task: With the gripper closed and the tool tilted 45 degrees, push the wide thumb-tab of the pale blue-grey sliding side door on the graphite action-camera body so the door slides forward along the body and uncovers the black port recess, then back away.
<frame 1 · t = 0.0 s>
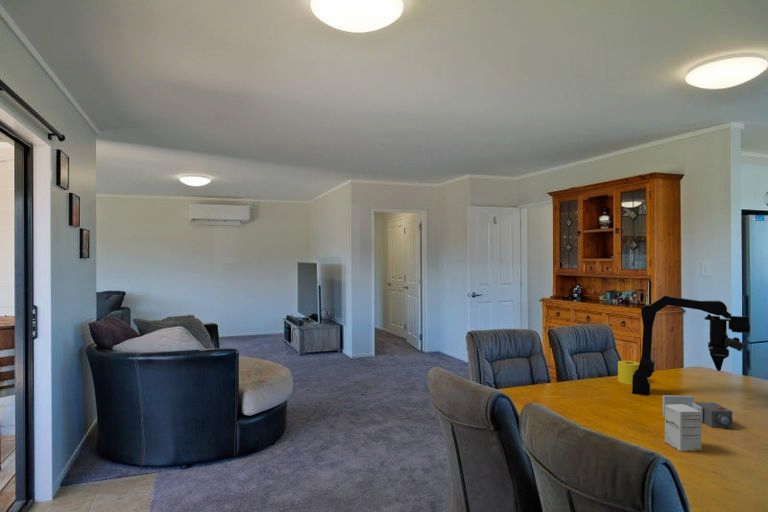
hand: (718, 368, 193), 15 cm above the table, tool pointing down, fingers open, 9 cm apart
side door: (682, 408, 174), point 4 cm above the table, slide at 0.0 cm
supplement box: (682, 447, 149), on the table
camera body: (678, 416, 177), on the table
yellow paper roll: (629, 382, 227), on the table
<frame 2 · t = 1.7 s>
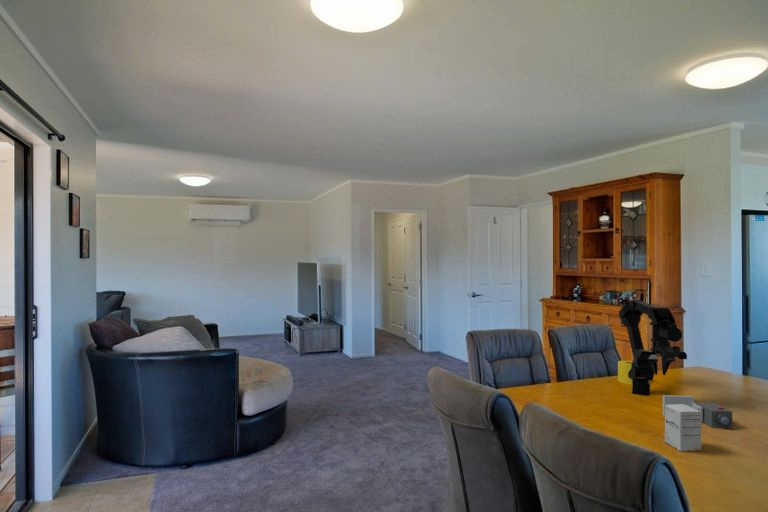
hand: (659, 374, 193), 12 cm above the table, tool pointing down, fingers open, 3 cm apart
nothing on the table moved.
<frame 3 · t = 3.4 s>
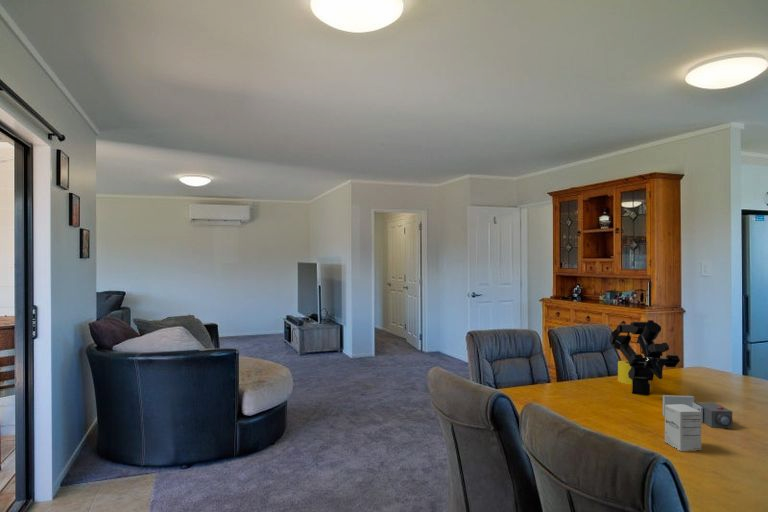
hand: (660, 378, 190), 11 cm above the table, tool tilted 45°, fingers closed
nothing on the table moved.
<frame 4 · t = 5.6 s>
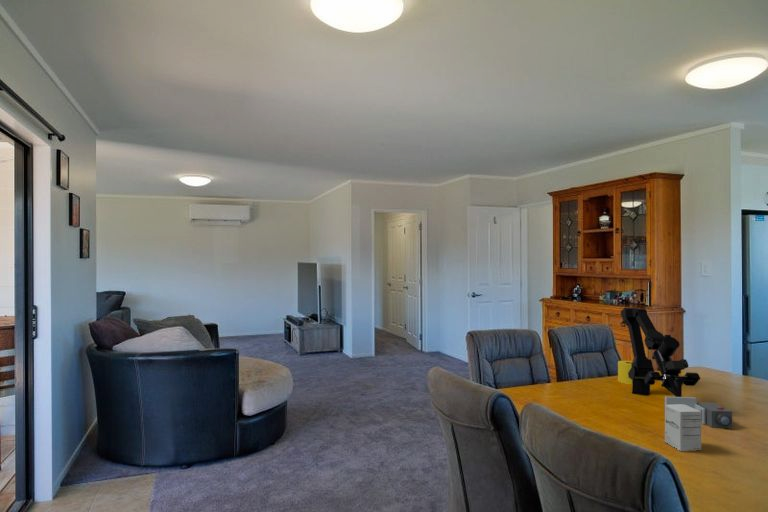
hand: (680, 398, 176), 7 cm above the table, tool tilted 45°, fingers closed, pressing on side door
side door: (684, 409, 173), point 4 cm above the table, slide at 1.5 cm, touching gripper
everything else where it was.
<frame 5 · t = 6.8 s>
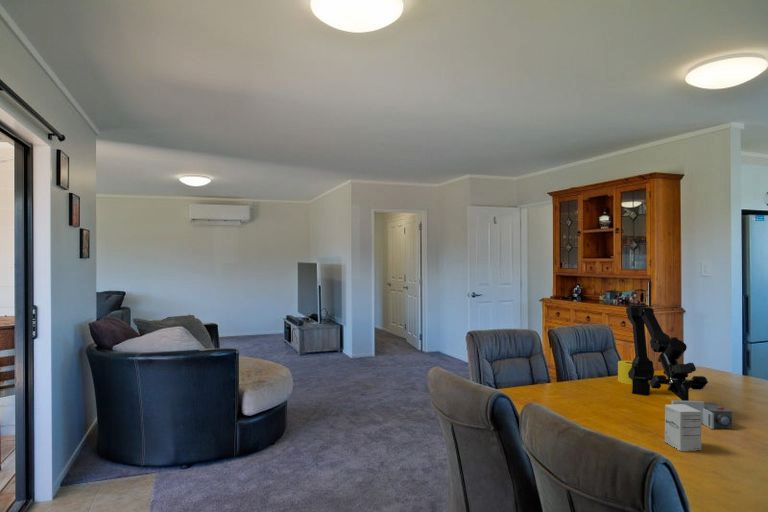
hand: (687, 402, 171), 7 cm above the table, tool tilted 45°, fingers closed, pressing on side door
side door: (692, 414, 168), point 4 cm above the table, slide at 6.3 cm, touching gripper
everything else where it was.
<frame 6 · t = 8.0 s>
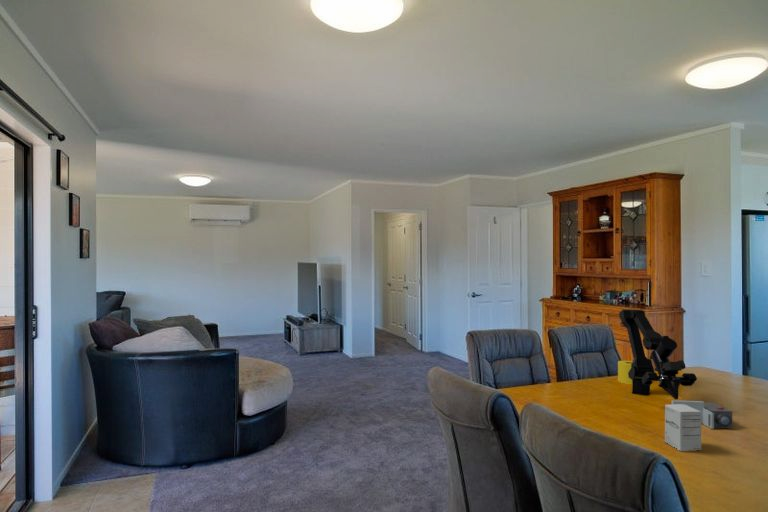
hand: (676, 398, 178), 6 cm above the table, tool tilted 45°, fingers closed
side door: (692, 414, 168), point 4 cm above the table, slide at 6.3 cm
everything else where it was.
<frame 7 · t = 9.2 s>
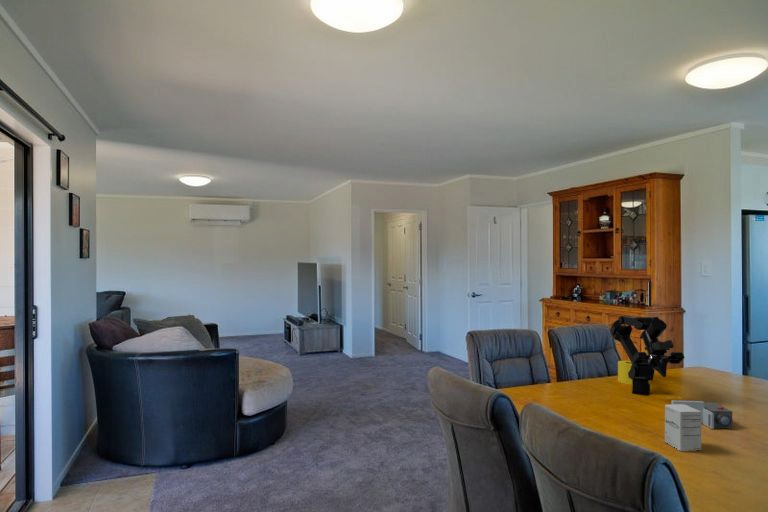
hand: (664, 376, 188), 12 cm above the table, tool tilted 40°, fingers closed
nothing on the table moved.
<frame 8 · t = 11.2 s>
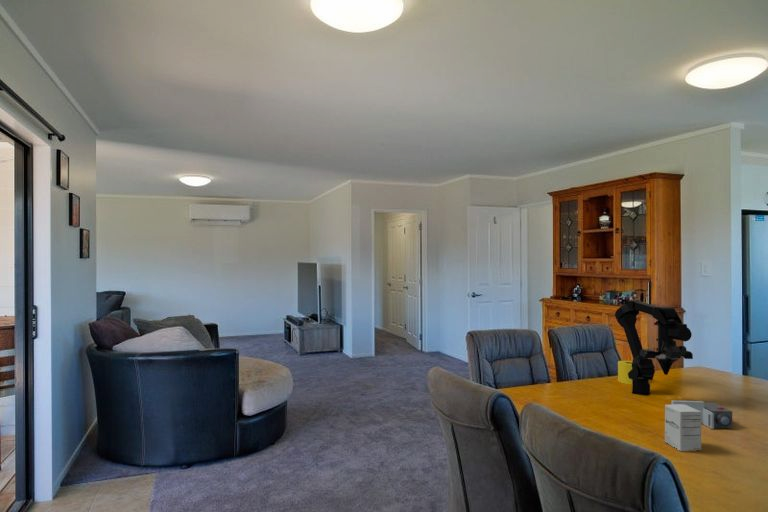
hand: (665, 374, 194), 12 cm above the table, tool pointing down, fingers closed
nothing on the table moved.
at the end: side door slide at 6.3 cm; side door moved 6.3 cm from its start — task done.
